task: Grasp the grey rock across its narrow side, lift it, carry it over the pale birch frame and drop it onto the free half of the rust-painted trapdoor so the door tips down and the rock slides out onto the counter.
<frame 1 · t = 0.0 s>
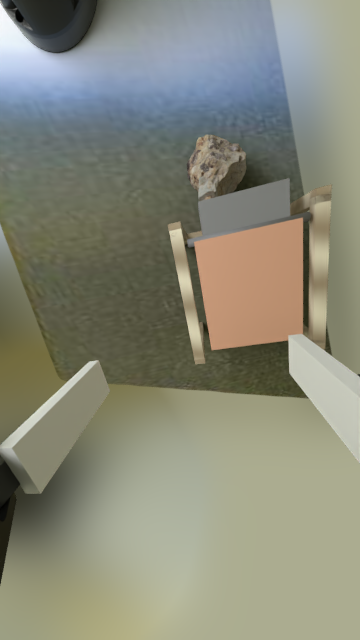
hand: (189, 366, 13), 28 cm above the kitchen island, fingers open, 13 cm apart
frame: (232, 278, 37), on the kitchen island
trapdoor: (247, 275, 24), point 13 cm above the kitchen island, hinge at 0.0°
rock: (216, 187, 33), on the kitchen island
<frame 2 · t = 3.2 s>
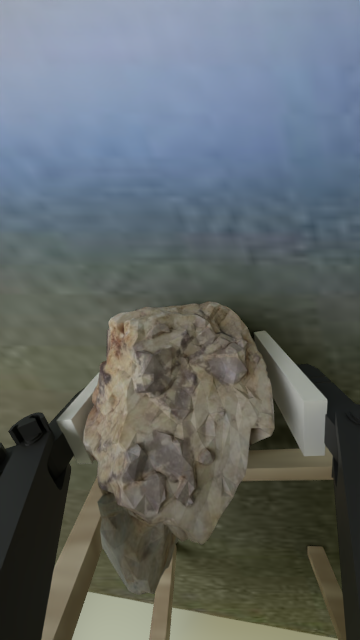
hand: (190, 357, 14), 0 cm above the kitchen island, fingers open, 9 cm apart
frame: (228, 496, 19), on the kitchen island
rock: (190, 353, 14), on the kitchen island, touching gripper
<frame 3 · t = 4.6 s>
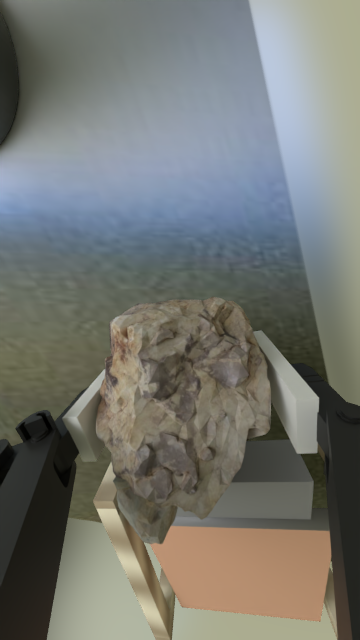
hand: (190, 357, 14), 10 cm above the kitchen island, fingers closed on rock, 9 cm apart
frame: (221, 427, 28), on the kitchen island
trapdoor: (234, 539, 15), point 13 cm above the kitchen island, hinge at -4.9°
rock: (192, 338, 14), point 9 cm above the kitchen island, touching gripper
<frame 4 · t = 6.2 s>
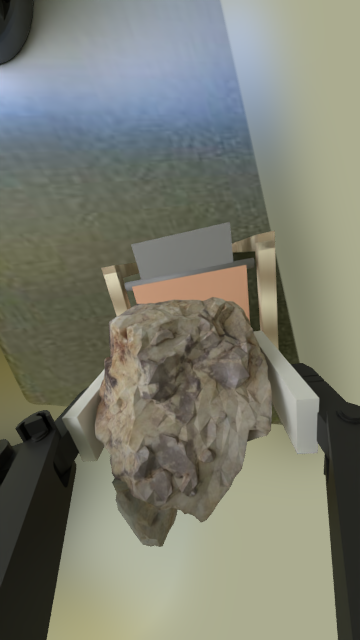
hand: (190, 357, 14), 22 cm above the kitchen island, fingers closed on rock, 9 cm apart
frame: (198, 305, 35), on the kitchen island
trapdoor: (194, 317, 23), point 13 cm above the kitchen island, hinge at -5.0°
rock: (192, 339, 14), point 21 cm above the kitchen island, touching gripper
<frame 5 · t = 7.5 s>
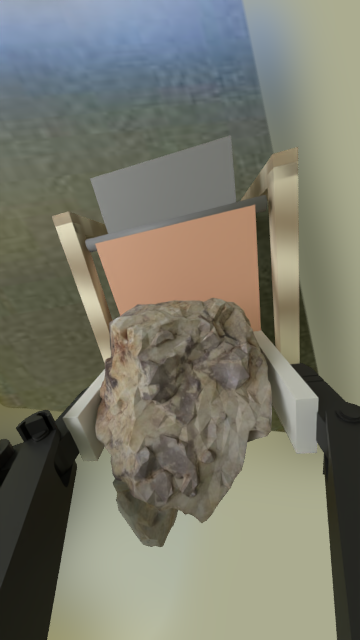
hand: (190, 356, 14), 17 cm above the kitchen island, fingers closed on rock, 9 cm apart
frame: (193, 289, 30), on the kitchen island
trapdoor: (184, 290, 17), point 13 cm above the kitchen island, hinge at -5.0°
rock: (192, 339, 14), point 16 cm above the kitchen island, touching gripper
when the fingers open (17 cm above the kitchen island, at t = 7.6 s): rock drops 9 cm, resting on frame.
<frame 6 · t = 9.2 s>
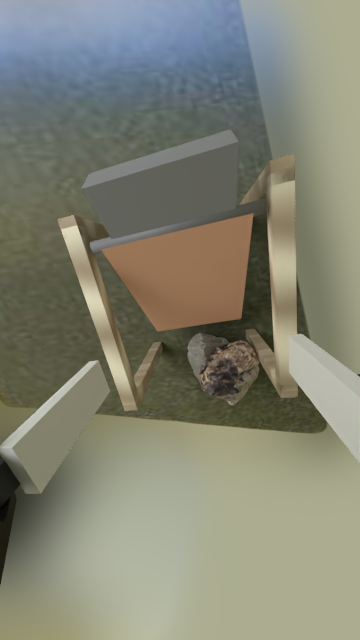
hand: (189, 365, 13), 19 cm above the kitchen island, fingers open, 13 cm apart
frame: (193, 289, 30), on the kitchen island
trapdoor: (184, 270, 20), point 10 cm above the kitchen island, hinge at -40.4°
rock: (223, 347, 25), point 7 cm above the kitchen island, touching frame
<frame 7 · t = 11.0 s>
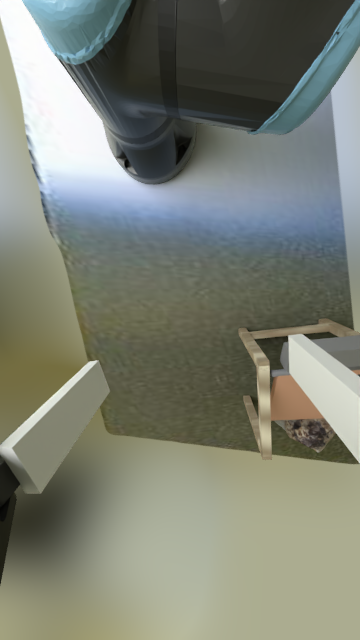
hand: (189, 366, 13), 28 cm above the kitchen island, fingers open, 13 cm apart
frame: (281, 363, 42), on the kitchen island
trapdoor: (309, 385, 31), point 11 cm above the kitchen island, hinge at -21.2°
rock: (312, 412, 37), point 7 cm above the kitchen island, touching frame
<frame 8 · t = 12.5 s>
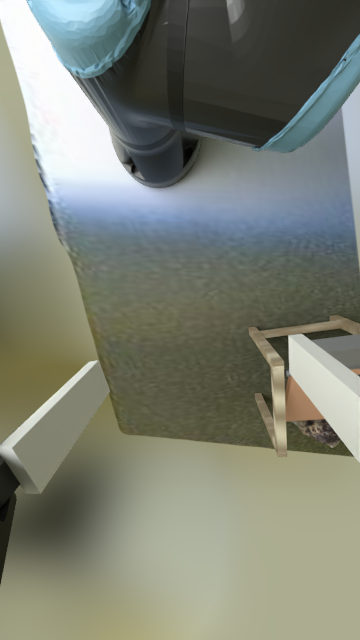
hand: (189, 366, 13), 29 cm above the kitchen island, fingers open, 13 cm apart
frame: (292, 360, 42), on the kitchen island
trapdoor: (324, 384, 31), point 11 cm above the kitchen island, hinge at -18.6°
rock: (325, 408, 37), point 7 cm above the kitchen island, touching frame
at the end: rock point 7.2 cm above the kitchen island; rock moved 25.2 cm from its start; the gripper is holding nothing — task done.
